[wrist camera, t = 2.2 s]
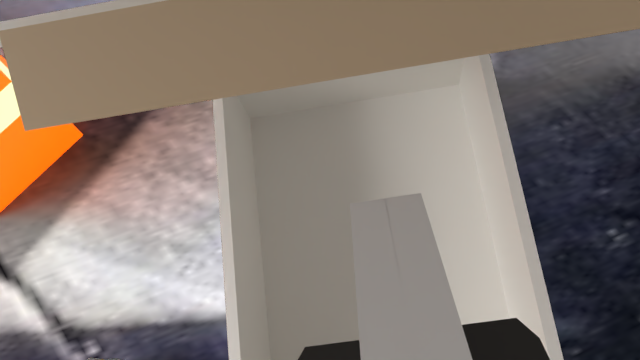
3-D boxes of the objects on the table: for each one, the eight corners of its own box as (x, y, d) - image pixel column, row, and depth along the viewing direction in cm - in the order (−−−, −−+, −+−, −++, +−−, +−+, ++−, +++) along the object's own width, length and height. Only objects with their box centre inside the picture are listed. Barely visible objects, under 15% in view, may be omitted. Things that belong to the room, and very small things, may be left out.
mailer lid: (711, 16, 13) (706, -114, 12) (5, 134, 14) (-25, 21, 14) (488, 42, 34) (483, -6, 33) (210, 89, 35) (201, 44, 34)
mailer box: (531, 377, 34) (568, 379, 27) (267, 408, 36) (232, 419, 28) (464, 79, 41) (479, 14, 33) (243, 115, 42) (210, 60, 35)
